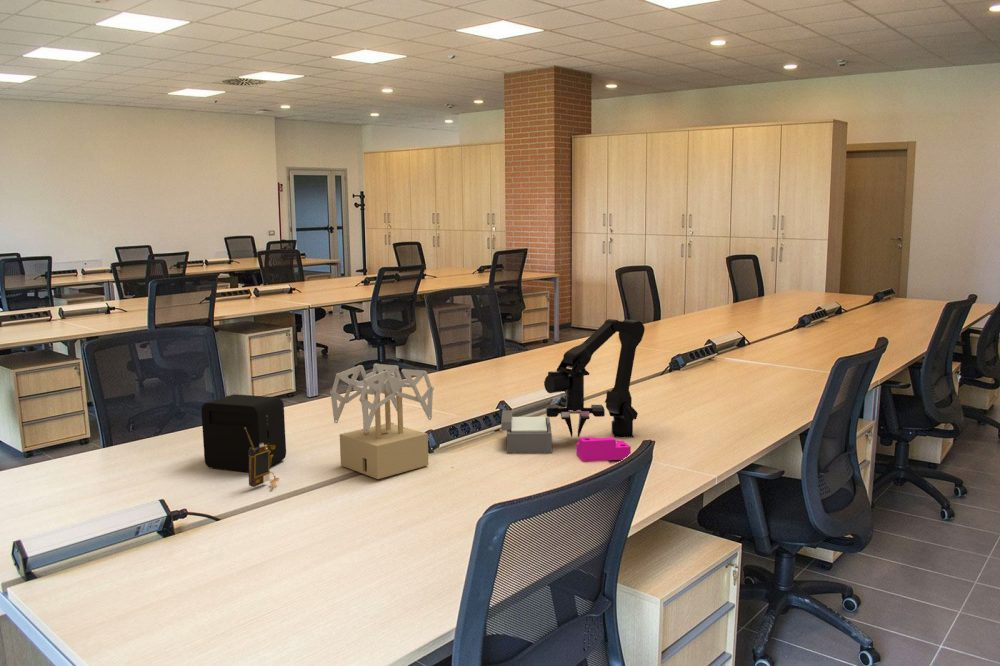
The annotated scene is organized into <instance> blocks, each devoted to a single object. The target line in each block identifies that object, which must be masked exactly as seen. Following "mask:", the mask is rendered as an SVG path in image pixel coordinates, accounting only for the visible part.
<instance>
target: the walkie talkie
mask: <svg viewBox="0 0 1000 666" xmlns="http://www.w3.org/2000/svg"><path fill="white" fill-rule="evenodd" d="M244 429H245V430H246V427H245V428H244ZM246 432H247V430H246ZM247 435H248V438H249V441H250V443H251V446H252V448H250V449H249V455H248V456H249V472H248V486H250V487H251V488H254V487H257V486H260V485H262V484H265V483H267V482H268V481H269V480H270V474H272V477H273V479H272V480H270V481H269V483H270V484H271V487H270V489H272V488H274V487H275V486H276V483H278V481H280V477H276V475H274V472H273V471H270V468H271V466H272V465H271V460H272V457H273V455H270V449H272V450H273V449H275V445H267V444H264V443H261V444H259V446H258V447H254V446H253V443H252V441H251V439H250V436H249V434H248V432H247Z"/></svg>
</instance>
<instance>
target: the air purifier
mask: <svg viewBox="0 0 1000 666" xmlns="http://www.w3.org/2000/svg"><path fill="white" fill-rule="evenodd" d="M200 410H201V422H202V423H201V424H202V438H203V439H202V441H203V454H204V455H203V456H204V457H203V458H204V463H205V464H206V466H207V467H209V468H210V467H212V468H211V469H216V468H218V469H217V470H225V469H227V471H237V472H245V473H249V456H248V455H249V449H250V448H252V446H251V443H250V441H249V438H248V435H247V432H248V434H249V436H250V439H251V441H252V443H253V446H254V447H258V446H259V444H261V443H264V444H267V445H275V449H273V450H272V449H270V455H273V457H272V460H271V466H273V465H275V464H277V463H279V462H282V461H283V460H285V458H286V456H287V444H286V443H287V441H286V424H285V420H286V419H285V405H284V401H283V400H282V399H281V398H280V397H277V396H267V395H265V396H264V395H249V394H235V393H233V394H231V395H227V396H224V397H221V398H218V399H214V400H210V401H208V402H205V403H203V404H202V406H201V408H200ZM245 427H246V430H247V432H246V430H245V429H244V428H245Z"/></svg>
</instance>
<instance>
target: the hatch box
mask: <svg viewBox="0 0 1000 666" xmlns="http://www.w3.org/2000/svg"><path fill="white" fill-rule="evenodd" d="M544 417H545V418H546V426H547V432H511V431H506V453H507V454H553V453H552V452H553V451H552V449H553V447H552V441H553V440H552V439H553V438H552V437H553V435H552V433H553V432H552V426H551V420H550V419H551V417H547V416H544Z"/></svg>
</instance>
